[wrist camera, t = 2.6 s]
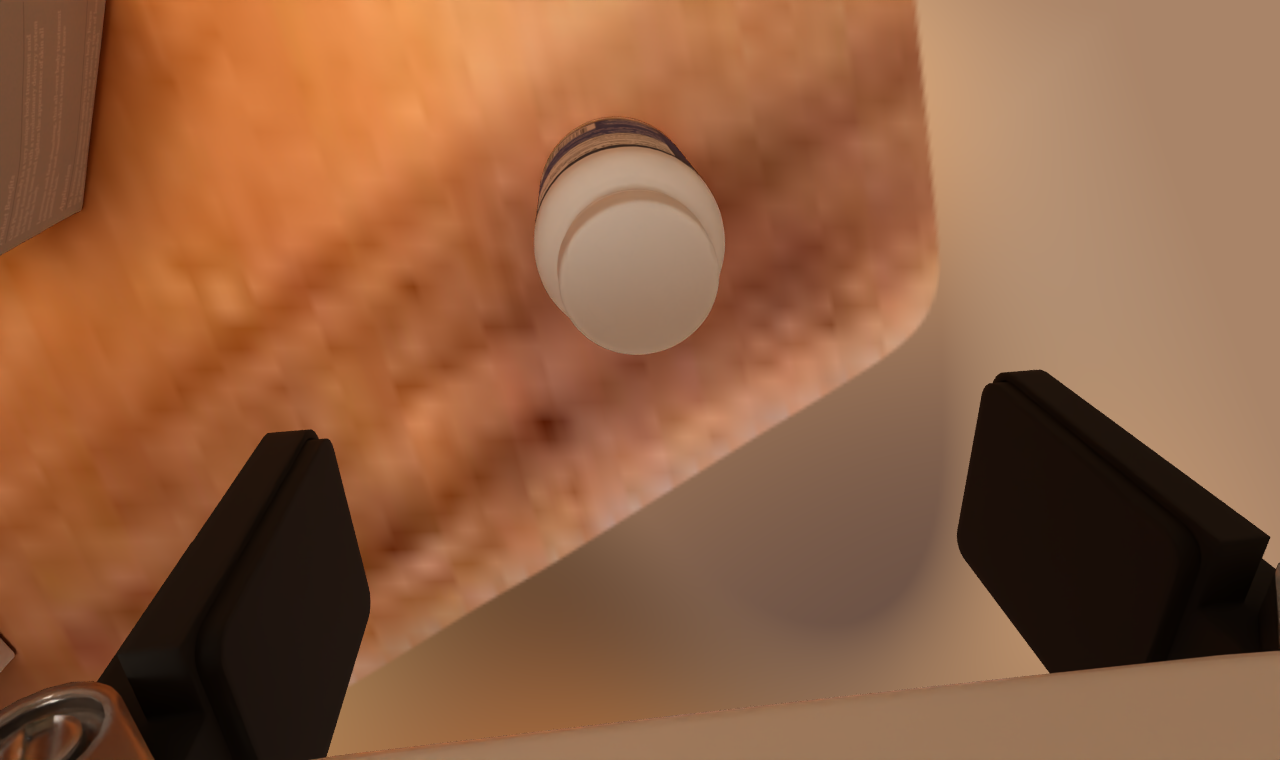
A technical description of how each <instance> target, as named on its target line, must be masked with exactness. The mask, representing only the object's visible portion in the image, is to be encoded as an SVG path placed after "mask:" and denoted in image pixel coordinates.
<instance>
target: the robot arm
mask: <svg viewBox="0 0 1280 760" xmlns="http://www.w3.org/2000/svg"><path fill="white" fill-rule="evenodd" d="M1269 539H1270V536H1268V535H1267V534H1265V533H1264V532H1263V531H1262V530H1260V529H1259V528H1257V527H1256V526H1255V525H1253V524H1252V523H1251V522H1249V521H1248V520H1247V519H1245V518H1244V517H1243V516H1241V515H1240V514H1238V513H1237V512H1236V511H1234V510H1233V509H1232V508H1230V507H1229V506H1228V505H1226V504H1225V503H1224V502H1222V501H1221V500H1219V499H1218V498H1217V497H1215V496H1214V495H1213V494H1211V493H1210V492H1209V491H1207V490H1206V489H1205V488H1203V487H1202V486H1200V485H1199V484H1198V483H1196V482H1195V481H1194V480H1192V479H1191V478H1190V477H1188V476H1187V475H1185V474H1184V473H1183V472H1181V471H1180V470H1179V469H1177V468H1176V467H1175V466H1173V465H1172V464H1170V463H1169V462H1168V461H1166V460H1165V459H1164V458H1162V457H1161V456H1160V455H1158V454H1157V453H1156V452H1154V451H1153V450H1151V449H1150V448H1149V447H1147V446H1146V445H1145V444H1143V443H1142V442H1141V441H1139V440H1138V439H1136V438H1135V437H1134V436H1133V435H1131V434H1130V433H1128V432H1127V431H1126V430H1124V429H1123V428H1122V427H1120V426H1119V425H1118V424H1116V423H1115V422H1113V421H1112V420H1111V419H1109V418H1108V417H1107V416H1105V415H1104V414H1103V413H1101V412H1100V411H1099V410H1097V409H1096V408H1094V407H1093V406H1092V405H1090V404H1089V403H1087V402H1086V401H1085V400H1083V399H1082V398H1081V397H1080V396H1078V395H1077V394H1075V393H1074V392H1073V391H1071V390H1070V389H1069V388H1067V387H1066V386H1064V385H1063V384H1062V383H1060V382H1059V381H1058V380H1056V379H1055V378H1054V377H1052V376H1051V375H1050V374H1048V373H1047V372H1045V371H1043V370H1029V371H1018V372H1005V373H1000V374H999V375H997V376H996V378H995V379H994V381H993V383H989V384H988V385H986V386H985V388H984V390H983V392H982V396H981V402H980V408H979V413H978V419H977V424H976V430H975V436H974V441H973V446H972V452H971V458H970V463H969V469H968V475H967V480H966V485H965V492H964V496H963V502H962V508H961V513H960V519H959V524H958V531H957V542H958V546H959V550H960V552H961V554H962V556H963V558H964V559H965V561H966V562H967V563H968V564H969V566H970V567H971V568H972V570H973V571H974V573H975V574H976V575H977V577H978V578H979V579H980V580H981V582H982V583H983V585H984V586H985V587H986V588H987V590H988V591H989V593H990V594H991V595H992V597H993V598H994V599H995V601H996V602H997V603H998V605H999V606H1000V607H1001V609H1002V610H1003V611H1004V613H1005V614H1006V615H1007V617H1008V618H1009V619H1010V621H1011V622H1012V623H1013V625H1014V626H1015V627H1016V629H1017V630H1018V631H1019V633H1020V634H1021V635H1022V637H1023V638H1024V639H1025V641H1026V642H1027V643H1028V645H1029V646H1030V647H1031V649H1032V650H1033V651H1034V653H1035V654H1036V655H1037V657H1038V658H1039V659H1040V661H1041V662H1042V663H1043V665H1044V666H1045V667H1046V669H1047V670H1048V671H1049V673H1050V674H1042V675H1032V676H1023V677H1014V678H1005V679H996V680H987V681H977V682H969V683H959V684H950V685H942V686H931V687H923V688H914V689H904V690H895V691H887V692H878V693H869V694H860V695H851V696H842V697H833V698H825V699H816V700H807V701H798V702H789V703H781V704H772V705H763V706H754V707H745V708H737V709H728V710H719V711H710V712H701V713H693V714H684V715H675V716H666V717H659V718H649V719H641V720H633V721H624V722H617V723H608V724H599V725H591V726H582V727H574V728H565V729H557V730H548V731H540V732H532V733H523V734H515V735H506V736H498V737H489V738H481V739H473V740H464V741H456V742H447V743H439V744H430V745H422V746H414V747H406V748H397V749H388V750H380V751H372V752H363V753H355V754H347V755H339V756H332V757H326V756H327V753H328V750H329V746H330V743H331V740H332V736H333V733H334V730H335V727H336V723H337V720H338V717H339V713H340V710H341V707H342V703H343V700H344V697H345V694H346V690H347V687H348V684H349V681H350V677H351V674H352V671H353V667H354V664H355V661H356V657H357V654H358V651H359V648H360V644H361V641H362V638H363V634H364V631H365V628H366V624H367V621H368V618H369V613H370V592H369V587H368V583H367V579H366V575H365V571H364V567H363V563H362V559H361V555H360V551H359V547H358V543H357V539H356V535H355V531H354V527H353V523H352V519H351V515H350V511H349V508H348V504H347V500H346V496H345V492H344V488H343V484H342V480H341V476H340V472H339V468H338V464H337V460H336V456H335V452H334V448H333V445H332V443H331V441H330V440H329V439H318V436H317V435H316V433H315V432H314V431H313V430H299V431H287V432H275V433H267V434H266V435H265V436H264V437H263V439H262V440H261V442H260V443H259V445H258V446H257V448H256V449H255V451H254V452H253V453H252V455H251V456H250V458H249V459H248V461H247V462H246V464H245V465H244V467H243V468H242V470H241V471H240V473H239V474H238V476H237V477H236V479H235V480H234V482H233V483H232V484H231V486H230V487H229V489H228V490H227V492H226V493H225V495H224V496H223V498H222V499H221V501H220V502H219V504H218V505H217V507H216V508H215V510H214V511H213V513H212V514H211V516H210V517H209V518H208V520H207V521H206V523H205V524H204V526H203V527H202V529H201V530H200V532H199V533H198V535H197V536H196V538H195V539H194V541H193V542H192V543H191V544H190V545H189V547H188V548H187V550H186V551H185V553H184V554H183V556H182V557H181V559H180V560H179V562H178V563H177V565H176V566H175V568H174V569H173V571H172V572H171V574H170V575H169V576H168V578H167V579H166V581H165V582H164V584H163V585H162V587H161V588H160V590H159V591H158V593H157V594H156V596H155V597H154V599H153V600H152V602H151V603H150V604H149V606H148V607H147V609H146V610H145V612H144V613H143V615H142V616H141V618H140V619H139V621H138V622H137V624H136V625H135V627H134V628H133V630H132V631H131V632H130V634H129V635H128V637H127V638H126V640H125V641H124V643H123V644H122V646H121V647H120V649H119V650H118V652H117V653H116V655H115V656H114V658H113V659H112V661H111V662H110V663H109V665H108V666H107V668H106V669H105V671H104V672H103V674H102V675H101V677H100V678H99V680H98V681H97V682H95V681H88V682H70V683H66V684H62V685H58V686H54V687H50V688H46V689H43V690H41V691H39V692H36V693H34V694H31V695H29V696H27V697H24V698H22V699H20V700H17V701H16V702H14V703H12V704H11V705H9V706H7V707H5V708H4V709H2V710H0V760H1280V563H1279V564H1278V565H1277V568H1276V569H1275V568H1274V567H1272V566H1271V565H1270V564H1268V563H1267V562H1266V561H1265V560H1263V559H1262V557H1263V554H1264V552H1265V549H1266V547H1267V544H1268V542H1269Z"/></svg>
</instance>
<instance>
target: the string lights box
mask: <svg viewBox="0 0 1280 760" xmlns="http://www.w3.org/2000/svg"><path fill="white" fill-rule="evenodd" d="M14 657H15V654H14V652H13V651H12V650H11V649H10V648H9V647H8V646H7V645H6V644H5V642H4V641H3V640H2V639H1V638H0V672H1V671H2V670H3V669H4V668H5V666H6V665H7V664H8V663H9V662H10V661H11V660H12V659H13V658H14Z"/></svg>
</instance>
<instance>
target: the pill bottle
mask: <svg viewBox="0 0 1280 760" xmlns="http://www.w3.org/2000/svg"><path fill="white" fill-rule="evenodd" d="M724 253H725V233H724V226H723V221H722V217H721V213H720V210H719V207H718V205H717V203H716V200H715V198H714V197H713V194H712V193H711V191H710V189H709V188H708V186H707V185H706V183H705V182H704V181H703V180H702V178H701V177H700V176H699V175H698V173H697V172H696V171H695V170H694V168H693V167H692V166H691V165H690V163H689V162H688V161H687V160H686V158H685V157H684V156H683V154H682V153H681V152H680V151H679V149H678V148H677V147H676V146H675V144H674V143H673V142H672V141H671V140H670V139H669V138H667V137H666V136H665V135H664V134H663V133H662V132H660V131H659V130H657V129H656V128H654V127H652V126H650V125H649V124H646V123H644V122H641V121H638V120H635V119H630V118H624V117H608V118H601V119H597V120H593V121H590V122H588V123H585V124H583V125H581V126H579V127H577V128H576V129H574V130H573V131H571V132H570V133H569V134H568V135H566V136H565V137H564V138H563V139H562V140H561V141H560V142H559V143H558V145H557V146H556V147H555V148H554V150H553V151H552V153H551V154H550V156H549V158H548V160H547V163H546V165H545V167H544V170H543V173H542V177H541V182H540V191H539V199H538V207H537V214H536V220H535V231H534V254H535V261H536V265H537V269H538V272H539V275H540V278H541V281H542V283H543V285H544V287H545V289H546V291H547V293H548V295H549V296H550V298H551V299H552V300H553V302H554V303H555V304H556V305H557V306H558V308H559V309H560V310H561V311H562V312H563V313H564V314H565V315H567V316H568V317H569V318H570V319H571V321H572V322H573V324H574V325H575V326H576V328H577V329H578V330H579V331H580V332H581V333H582V334H583V335H584V336H586V337H587V338H588V339H589V340H591V341H592V342H594V343H596V344H597V345H599V346H601V347H603V348H605V349H608V350H611V351H614V352H617V353H623V354H630V355H643V354H651V353H655V352H659V351H663V350H666V349H669V348H671V347H673V346H675V345H677V344H679V343H680V342H682V341H683V340H685V339H686V338H688V337H689V336H690V335H692V334H693V333H694V332H695V331H696V330H697V329H698V328H699V327H700V325H701V324H702V323H703V321H704V320H705V319H706V318H707V316H708V314H709V312H710V311H711V309H712V306H713V303H714V301H715V298H716V295H717V291H718V285H719V275H720V272H721V269H722V265H723V260H724Z"/></svg>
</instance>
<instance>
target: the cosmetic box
mask: <svg viewBox="0 0 1280 760" xmlns="http://www.w3.org/2000/svg"><path fill="white" fill-rule="evenodd" d="M105 3H106V0H0V255H2V254H4V253H5V252H7V251H9V250H11V249H13V248H14V247H16V246H18V245H19V244H21V243H23V242H25V241H26V240H28V239H30V238H32V237H34V236H35V235H37V234H39V233H41V232H43V231H44V230H46V229H47V228H49V227H51V226H53V225H54V224H56V223H58V222H60V221H62V220H64V219H66V218H67V217H69V216H71V215H73V214H74V213H76V212H80V211H81V210H82V205H83V197H84V188H85V179H86V170H87V161H88V152H89V143H90V134H91V125H92V116H93V108H94V99H95V91H96V83H97V75H98V66H99V57H100V48H101V39H102V30H103V21H104V12H105Z"/></svg>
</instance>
